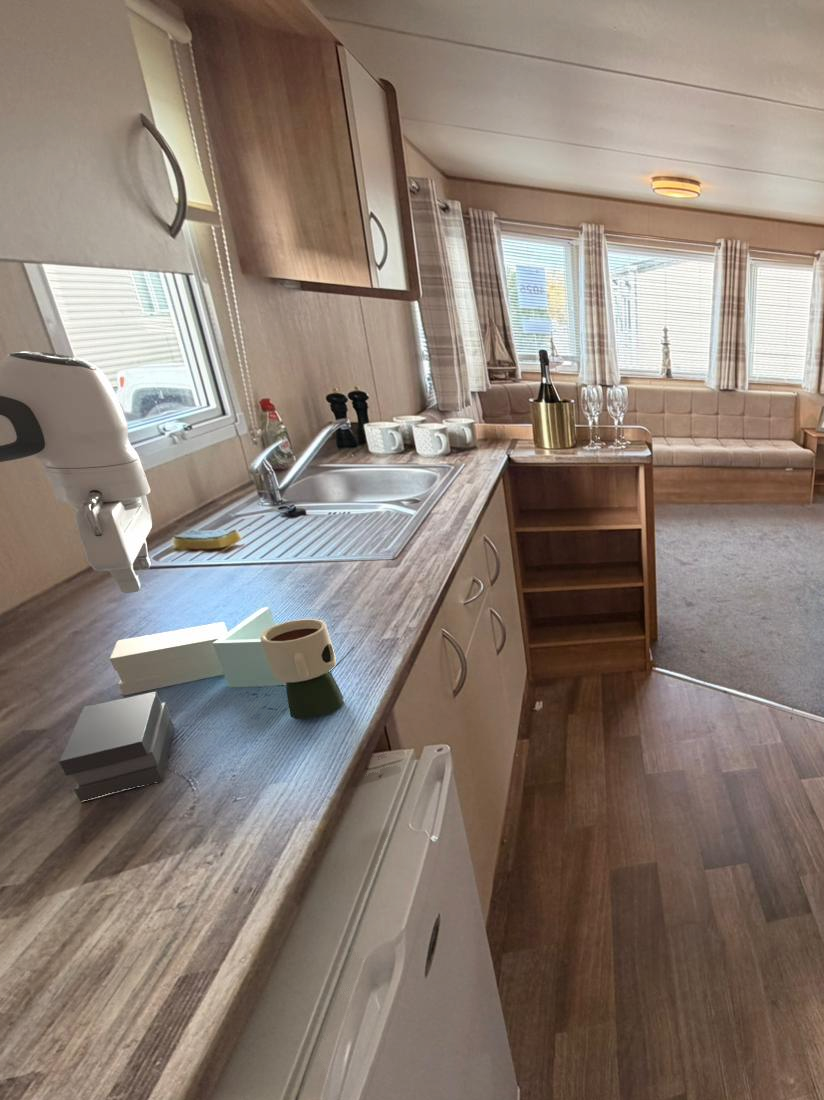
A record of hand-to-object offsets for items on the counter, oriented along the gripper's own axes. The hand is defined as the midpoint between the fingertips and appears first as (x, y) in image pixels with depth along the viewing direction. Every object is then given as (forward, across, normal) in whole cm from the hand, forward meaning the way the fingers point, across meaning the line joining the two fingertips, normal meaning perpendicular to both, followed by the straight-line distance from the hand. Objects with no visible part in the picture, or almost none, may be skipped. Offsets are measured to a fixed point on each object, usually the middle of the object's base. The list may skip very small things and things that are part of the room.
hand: (137, 579), depth 90 cm
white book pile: (+16, 0, -1) cm, 16 cm away
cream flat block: (+12, 0, -1) cm, 12 cm away
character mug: (+16, -22, -17) cm, 32 cm away
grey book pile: (+16, -23, +2) cm, 28 cm away
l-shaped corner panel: (+16, -6, -15) cm, 22 cm away
